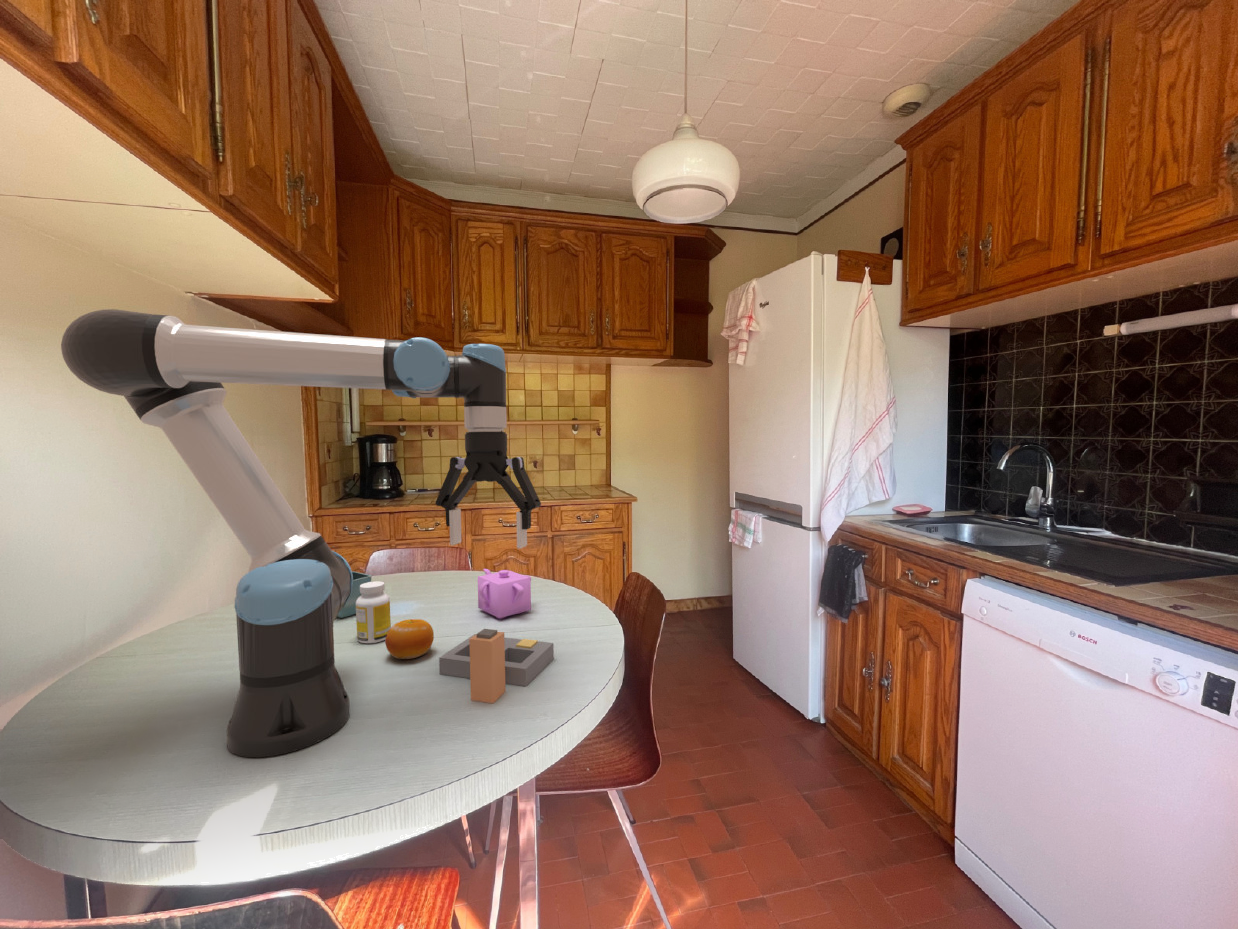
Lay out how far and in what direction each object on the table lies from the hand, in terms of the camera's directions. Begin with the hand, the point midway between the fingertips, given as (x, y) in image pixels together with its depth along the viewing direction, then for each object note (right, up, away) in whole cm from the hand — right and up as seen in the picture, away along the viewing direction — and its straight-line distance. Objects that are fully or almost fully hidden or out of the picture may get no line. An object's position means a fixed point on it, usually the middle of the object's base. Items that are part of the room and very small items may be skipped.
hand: (488, 545), depth 97 cm
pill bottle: (-27, -22, +13) cm, 37 cm away
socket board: (+2, -22, -1) cm, 22 cm away
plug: (+3, -23, -12) cm, 26 cm away
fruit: (-16, -22, +4) cm, 28 cm away
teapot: (-3, -21, +30) cm, 36 cm away
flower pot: (-41, -21, +29) cm, 54 cm away
